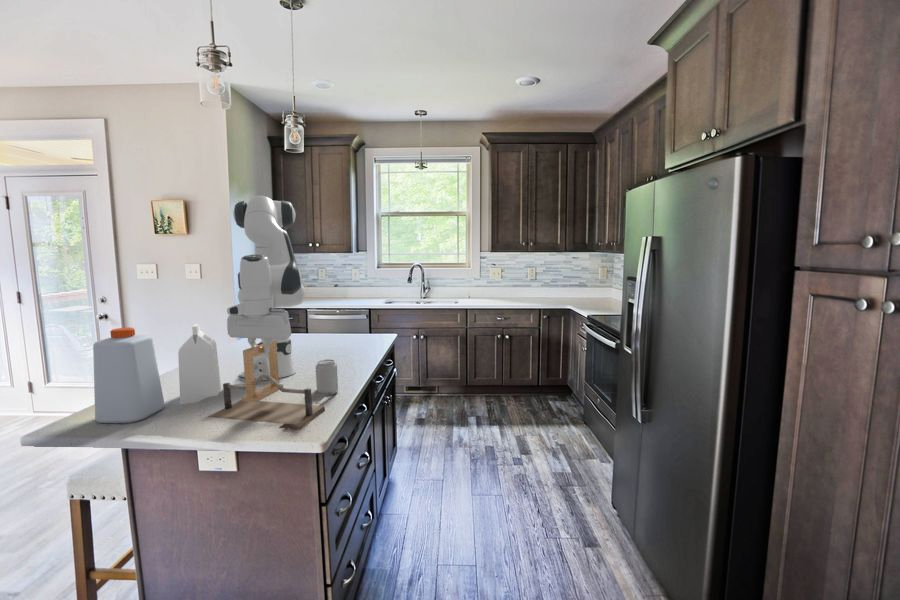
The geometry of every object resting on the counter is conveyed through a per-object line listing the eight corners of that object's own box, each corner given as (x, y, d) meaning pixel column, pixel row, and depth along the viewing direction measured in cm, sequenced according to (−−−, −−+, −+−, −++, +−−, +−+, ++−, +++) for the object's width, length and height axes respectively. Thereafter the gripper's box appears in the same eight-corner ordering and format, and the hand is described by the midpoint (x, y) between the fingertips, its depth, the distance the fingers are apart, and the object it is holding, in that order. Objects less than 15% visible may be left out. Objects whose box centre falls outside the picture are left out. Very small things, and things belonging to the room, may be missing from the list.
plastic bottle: (127, 406, 145) (118, 324, 141) (170, 406, 144) (163, 324, 141) (88, 424, 130) (77, 334, 126) (136, 424, 129) (127, 333, 126)
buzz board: (208, 421, 131) (204, 379, 129) (242, 403, 145) (239, 365, 144) (298, 429, 124) (295, 385, 122) (324, 410, 138) (322, 370, 137)
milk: (186, 393, 156) (179, 323, 153) (221, 389, 161) (216, 321, 158) (180, 404, 145) (173, 329, 142) (218, 399, 150) (212, 326, 147)
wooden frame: (242, 401, 128) (238, 350, 126) (270, 387, 141) (266, 340, 139) (256, 402, 127) (253, 351, 125) (283, 387, 140) (280, 341, 138)
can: (332, 397, 151) (330, 364, 149) (313, 396, 152) (311, 363, 151) (341, 390, 158) (340, 358, 157) (323, 389, 160) (321, 357, 158)
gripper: (294, 307, 131) (296, 351, 133) (236, 306, 136) (240, 348, 138) (281, 310, 125) (284, 356, 127) (222, 308, 130) (225, 353, 132)
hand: (260, 352), depth 132 cm, fingers closed on wooden frame
